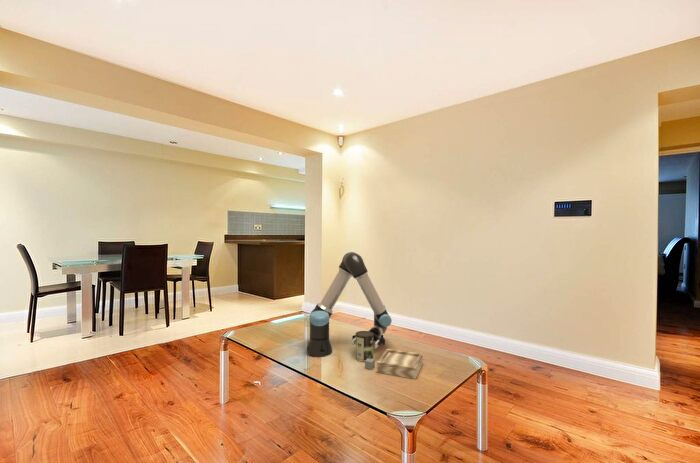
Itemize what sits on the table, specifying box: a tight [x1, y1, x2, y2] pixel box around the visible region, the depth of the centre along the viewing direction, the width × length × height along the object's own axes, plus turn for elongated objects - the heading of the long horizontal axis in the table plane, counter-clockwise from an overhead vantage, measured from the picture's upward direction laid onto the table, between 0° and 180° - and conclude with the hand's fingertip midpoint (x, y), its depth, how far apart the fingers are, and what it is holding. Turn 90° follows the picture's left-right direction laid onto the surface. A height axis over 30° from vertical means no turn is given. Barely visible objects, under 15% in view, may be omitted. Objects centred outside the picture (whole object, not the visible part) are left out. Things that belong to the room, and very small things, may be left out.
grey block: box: [364, 358, 376, 370], centre depth 167 cm, size 4×4×4 cm
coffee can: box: [355, 330, 374, 362], centre depth 180 cm, size 10×10×14 cm
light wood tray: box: [376, 348, 423, 380], centre depth 167 cm, size 20×20×5 cm
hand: (363, 344), depth 178 cm, fingers open, 13 cm apart
